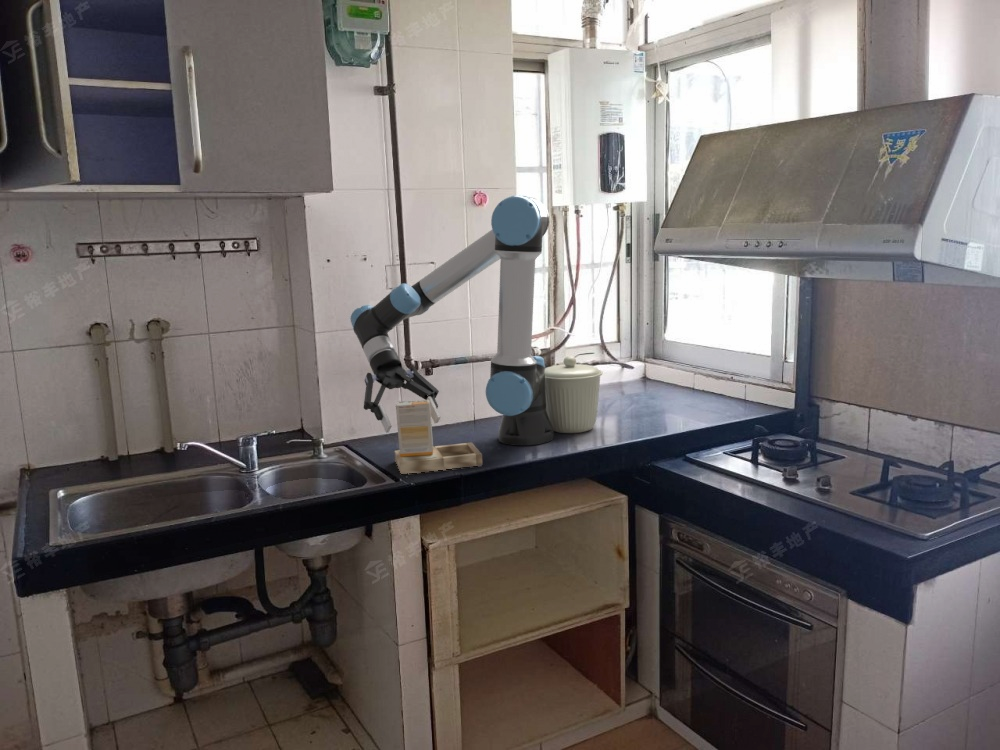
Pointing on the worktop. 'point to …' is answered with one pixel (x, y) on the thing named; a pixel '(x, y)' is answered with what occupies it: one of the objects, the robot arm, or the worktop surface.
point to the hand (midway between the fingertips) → (413, 424)
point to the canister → (572, 396)
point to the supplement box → (414, 428)
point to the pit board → (440, 459)
